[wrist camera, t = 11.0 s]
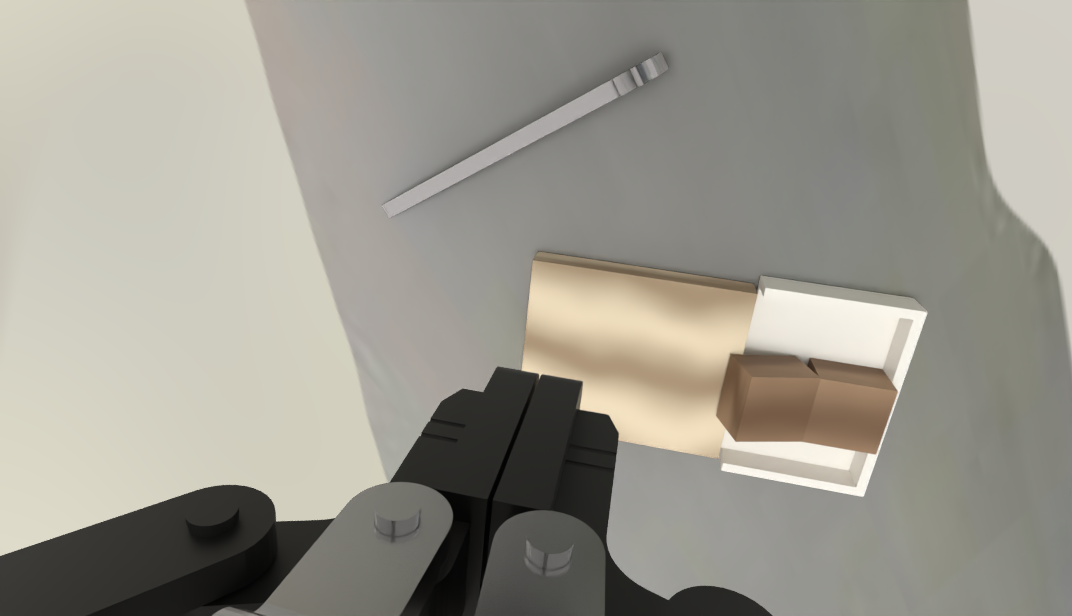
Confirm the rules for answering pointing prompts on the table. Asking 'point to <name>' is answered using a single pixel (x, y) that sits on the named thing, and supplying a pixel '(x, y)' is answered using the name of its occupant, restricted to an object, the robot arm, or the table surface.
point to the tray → (829, 334)
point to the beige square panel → (639, 344)
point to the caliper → (531, 133)
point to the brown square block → (767, 398)
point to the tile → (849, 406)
